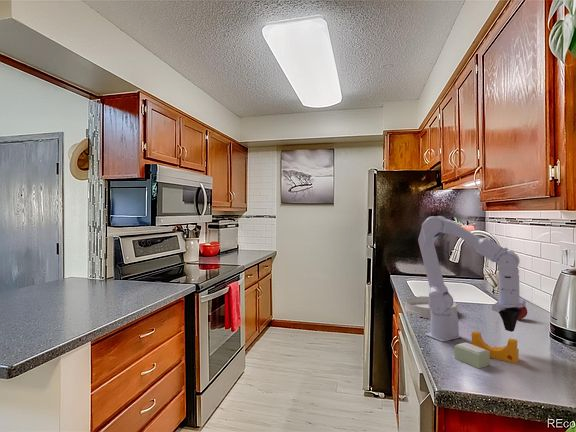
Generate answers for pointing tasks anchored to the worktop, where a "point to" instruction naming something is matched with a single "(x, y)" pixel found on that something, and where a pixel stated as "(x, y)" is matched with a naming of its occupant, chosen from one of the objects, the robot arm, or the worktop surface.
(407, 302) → the dish
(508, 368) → the worktop surface
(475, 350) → the pale green block
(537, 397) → the worktop surface
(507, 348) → the pipe clamp
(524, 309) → the onion
